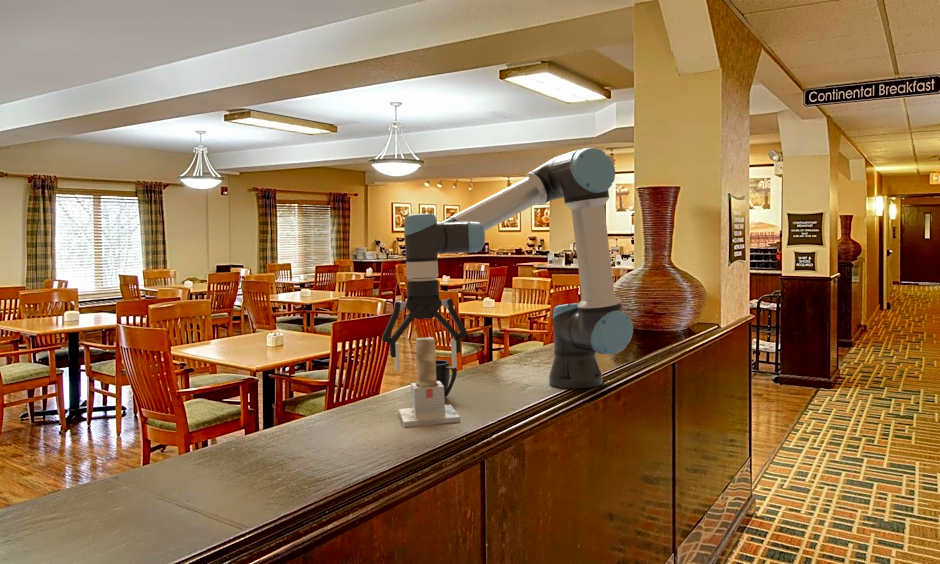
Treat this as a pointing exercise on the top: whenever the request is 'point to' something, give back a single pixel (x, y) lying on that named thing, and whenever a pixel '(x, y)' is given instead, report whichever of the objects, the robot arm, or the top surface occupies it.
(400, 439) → the top surface
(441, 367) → the mug
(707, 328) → the top surface
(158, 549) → the top surface
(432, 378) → the post
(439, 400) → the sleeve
